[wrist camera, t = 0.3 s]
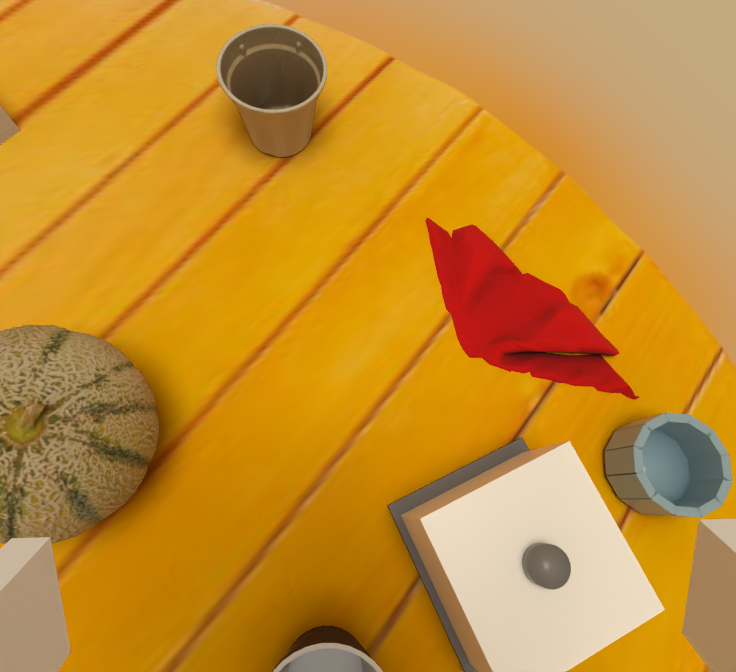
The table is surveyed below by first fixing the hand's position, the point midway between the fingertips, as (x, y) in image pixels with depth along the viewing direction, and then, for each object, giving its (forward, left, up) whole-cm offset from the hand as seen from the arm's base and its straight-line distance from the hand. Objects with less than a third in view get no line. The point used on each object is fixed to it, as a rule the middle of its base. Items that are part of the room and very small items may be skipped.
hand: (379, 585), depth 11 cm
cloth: (+10, -23, -35) cm, 43 cm away
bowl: (-8, -26, -34) cm, 43 cm away
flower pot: (+36, -10, -34) cm, 51 cm away
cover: (-8, -11, -33) cm, 36 cm away
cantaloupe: (+14, +16, -34) cm, 40 cm away
